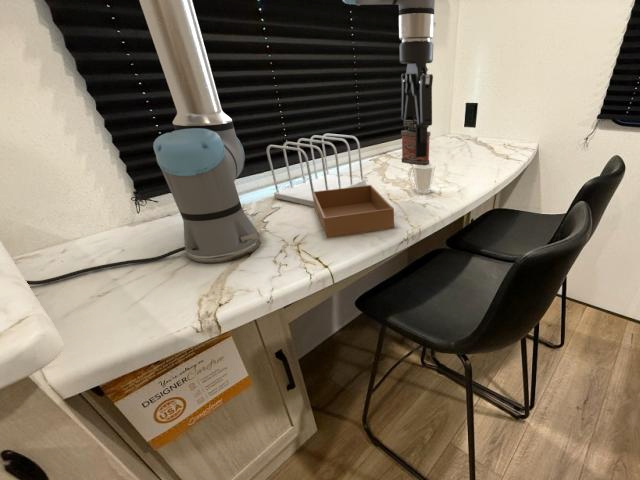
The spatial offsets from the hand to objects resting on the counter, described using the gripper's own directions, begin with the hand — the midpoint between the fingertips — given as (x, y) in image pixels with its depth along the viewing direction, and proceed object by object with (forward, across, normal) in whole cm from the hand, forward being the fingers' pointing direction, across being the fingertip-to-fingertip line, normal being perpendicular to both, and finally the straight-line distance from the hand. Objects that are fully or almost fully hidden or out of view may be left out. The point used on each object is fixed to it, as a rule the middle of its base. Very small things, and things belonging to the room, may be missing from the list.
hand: (415, 153), depth 85 cm
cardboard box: (+14, -1, +19) cm, 24 cm away
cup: (+15, +14, -7) cm, 22 cm away
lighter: (+3, 0, 0) cm, 3 cm away
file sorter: (+15, +25, +23) cm, 37 cm away
